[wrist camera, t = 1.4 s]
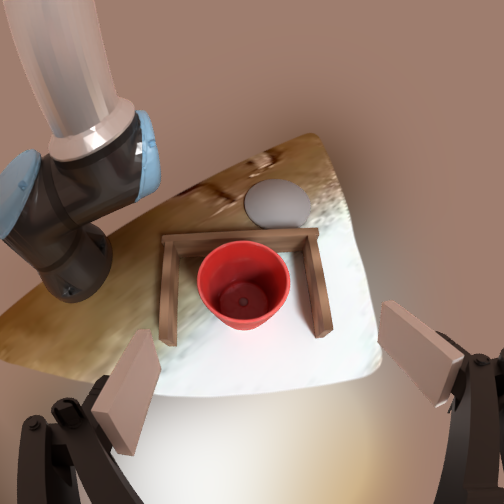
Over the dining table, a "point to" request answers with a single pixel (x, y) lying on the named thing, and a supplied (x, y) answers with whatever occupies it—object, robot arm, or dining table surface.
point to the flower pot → (243, 283)
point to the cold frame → (271, 238)
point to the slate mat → (277, 205)
